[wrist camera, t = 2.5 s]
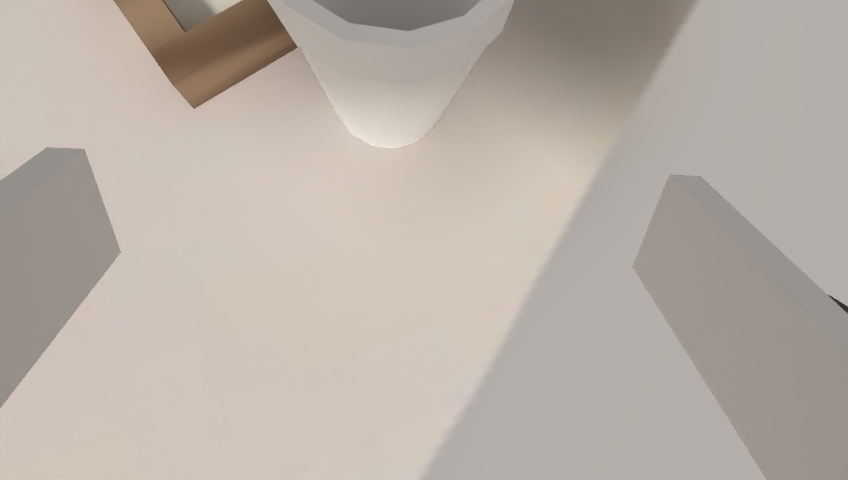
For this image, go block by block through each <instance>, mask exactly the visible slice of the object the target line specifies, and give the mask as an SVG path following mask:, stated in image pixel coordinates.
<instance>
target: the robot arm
mask: <svg viewBox="0 0 848 480" xmlns="http://www.w3.org/2000/svg"><path fill="white" fill-rule="evenodd" d="M120 252H121V251H120V248H119V245H118V243H117V240H116V237H115V234H114V231H113V228H112V226H111V223H110V220H109V217H108V214H107V212H106V209H105V206H104V203H103V200H102V197H101V195H100V192H99V189H98V186H97V183H96V181H95V178H94V175H93V172H92V169H91V166H90V164H89V161H88V158H87V155H86V152H85V149H70V148H45V149H44V150H43V151H41V152H40V153H38V154H37V155H36V156H34V157H33V158H32V159H30V160H29V161H27V162H26V163H25V164H23V165H22V166H20V167H19V168H18V169H16V170H15V171H14V172H12V173H11V174H9V175H8V176H7V177H5V178H4V179H2V180H1V181H0V408H1V407H2V405H3V404H4V403H5V401H6V400H7V399H8V397H9V396H10V395H11V394H12V392H13V391H14V390H15V388H16V387H17V386H18V385H19V383H20V382H21V381H22V379H23V378H24V377H25V375H26V374H27V373H28V372H29V370H30V369H31V368H32V366H33V365H34V364H35V363H36V361H37V360H38V359H39V357H40V356H41V355H42V353H43V352H44V351H45V350H46V348H47V347H48V346H49V344H50V343H51V342H52V341H53V339H54V338H55V337H56V335H57V334H58V333H59V331H60V330H61V329H62V328H63V326H64V325H65V324H66V322H67V321H68V320H69V318H70V317H71V316H72V315H73V313H74V312H75V311H76V309H77V308H78V307H79V306H80V304H81V303H82V302H83V300H84V299H85V298H86V296H87V295H88V294H89V293H90V291H91V290H92V289H93V287H94V286H95V285H96V284H97V282H98V281H99V280H100V278H101V277H102V276H103V274H104V273H105V272H106V271H107V269H108V268H109V267H110V265H111V264H112V263H113V262H114V260H115V259H116V258H117V256H118V255H119V254H120ZM633 268H634V270H635V272H636V273H637V275H638V276H639V278H640V280H641V281H642V283H643V284H644V286H645V287H646V289H647V291H648V292H649V294H650V295H651V297H652V299H653V300H654V302H655V303H656V305H657V306H658V308H659V309H660V311H661V313H662V314H663V316H664V318H665V319H666V321H667V322H668V324H669V325H670V327H671V328H672V330H673V332H674V333H675V335H676V336H677V338H678V340H679V341H680V343H681V345H682V346H683V348H684V349H685V351H686V352H687V354H688V356H689V357H690V359H691V360H692V362H693V363H694V365H695V367H696V368H697V370H698V371H699V373H700V375H701V376H702V378H703V379H704V381H705V383H706V384H707V385H708V387H709V389H710V390H711V392H712V394H713V395H714V396H715V398H716V400H717V402H718V403H719V405H720V406H721V408H722V410H723V411H724V413H725V414H726V416H727V417H728V419H729V421H730V422H731V424H732V425H733V427H734V429H735V430H736V431H737V433H738V435H739V436H740V438H741V439H742V441H743V443H744V444H745V446H746V447H747V449H748V451H749V452H750V454H751V455H752V457H753V459H754V460H755V462H756V463H757V465H758V467H759V468H760V470H761V471H762V473H763V474H764V476H765V478H766V479H767V480H848V307H847V306H845V305H844V304H842V303H841V302H839V301H838V300H836V299H834V298H833V297H831V296H829V295H827V294H826V293H825V292H824V291H823V290H822V289H821V288H819V287H818V286H817V285H816V284H815V283H814V282H813V281H812V280H811V279H810V278H809V277H808V276H807V275H805V273H804V272H802V271H801V270H800V269H799V268H798V267H797V266H796V265H795V264H794V263H793V262H792V261H790V260H789V259H788V258H787V257H786V256H785V255H784V254H783V253H782V252H781V251H780V250H779V249H778V248H777V247H776V246H774V245H773V244H772V243H771V242H770V241H769V240H768V239H767V238H766V237H765V236H764V235H763V234H762V233H761V232H760V231H758V230H757V229H756V228H755V227H754V226H753V225H752V224H751V223H750V222H749V221H748V220H747V219H746V218H744V217H743V216H742V215H741V214H740V213H739V212H738V211H737V210H736V209H735V208H733V206H732V205H731V204H729V203H728V202H727V201H726V200H725V199H724V198H723V197H722V196H721V195H720V194H719V193H718V192H717V191H716V190H714V189H713V188H712V187H711V186H710V185H709V184H708V183H707V182H706V181H705V180H704V179H703V178H702V177H700V176H683V175H669V177H668V179H667V182H666V184H665V187H664V189H663V192H662V194H661V197H660V199H659V202H658V204H657V207H656V209H655V212H654V214H653V217H652V219H651V222H650V224H649V227H648V229H647V232H646V234H645V237H644V239H643V242H642V245H641V247H640V250H639V252H638V254H637V257H636V259H635V262H634V264H633Z"/></svg>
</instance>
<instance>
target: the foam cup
mask: <svg viewBox="0 0 848 480" xmlns="http://www.w3.org/2000/svg"><path fill="white" fill-rule="evenodd" d="M267 1H268V2H269V4H270V5H271V7H272V8H273V10H274V11H275V13H276V15H277V16H278V18H279V19H280V21H281V22H282V24H283V25H284V27H285V28H286V30H287V32H288V33H289V35H290V36H291V38H292V39H293V41H294V42H295V44H296V46H297V47H299V48H300V49H301V50H302V52H303V54H304V56H305V58H306V59H307V61H308V63H309V65H310V67H311V68H312V70H313V72H314V74H315V75H316V77H317V79H318V81H319V83H320V84H321V86H322V88H323V90H324V92H325V93H326V95H327V97H328V99H329V100H330V102H331V104H332V106H333V108H334V109H335V111H336V112H337V114H338V116H339V117H340V119H341V120H342V122H343V123H344V125H345V126H346V128H347V130H348V131H349V133H351V134H352V135H354V136H356V137H357V138H359V139H360V140H362V141H364V142H365V143H367V144H368V145H370V146H376V147H384V148H392V149H396V148H399V147H403V146H406V145H409V144H412V143H415V142H418V141H419V140H420V139H421V138H423V137H424V136H425V135H426V134H427V133H428V132H429V131H430V130H431V129H432V128H433V127H434V126H435V125H436V123H437V122H438V121H439V119H440V118H441V116H442V115H443V113H444V112H445V110H446V109H447V107H448V105H449V104H450V102H451V101H452V99H453V98H454V96H455V95H456V93H457V91H458V90H459V88H460V87H461V85H462V84H463V82H464V81H465V79H466V77H467V76H468V74H469V73H470V71H471V70H472V68H473V67H474V65H475V64H476V62H477V60H478V59H479V57H480V56H481V54H482V53H483V51H484V50H485V48H486V47H487V46H488V45H489V44H490V43H491V42H492V41H493V40H494V39H496V38H497V37H498V36H499V35H500V34H501V33H502V31H503V28H504V26H505V23H506V21H507V18H508V16H509V14H510V11H511V9H512V6H513V4H514V1H515V0H267Z"/></svg>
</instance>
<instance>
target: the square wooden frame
mask: <svg viewBox="0 0 848 480" xmlns="http://www.w3.org/2000/svg"><path fill="white" fill-rule="evenodd" d="M114 1H115V3H116V4H117V6H118V7H119V8H120V10H121V11H122V13H123V14H124V16H125V17H126V19H127V20H128V21H129V23H130V24H131V26H132V27H133V29H134V30H135V32H136V33H137V34H138V36H139V37H140V39H141V40H142V42H143V43H144V44H145V46H146V47H147V49H148V50H149V52H150V53H151V55H152V56H153V57H154V59H155V60H156V62H157V63H158V65H159V66H160V67H161V69H162V70H163V72H164V73H165V75H166V76H167V78H168V79H169V80H170V82H171V83H172V84H173V86H174V87H175V88H176V89H177V90H178V91H179V92H180V93H181V95H182V96H183V97H184V98H185V99H186V100H187V101H188V103H189V104H190V105H191V106H192V107H193V108H196V107H198V106H199V105H201V104H203V103H204V102H206V101H208V100H209V99H211V98H213V97H214V96H216V95H218V94H219V93H221V92H223V91H225V90H226V89H228V88H230V87H231V86H233V85H235V84H236V83H238V82H240V81H241V80H243V79H245V78H246V77H248V76H250V75H252V74H253V73H255V72H257V71H258V70H260V69H262V68H263V67H265V66H267V65H268V64H270V63H272V62H273V61H275V60H277V59H279V58H280V57H282V56H284V55H285V54H287V53H289V52H290V51H292V50H294V49H295V48H297V46H296V44H295V42H294V41H293V39H292V38H291V36H290V35H289V33H288V32H287V30H286V28H285V27H284V25H283V24H282V22H281V21H280V19H279V18H278V16H277V15H276V13H275V11H274V10H273V8H272V7H271V5H270V4H269V2H268V1H267V0H114Z"/></svg>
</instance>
